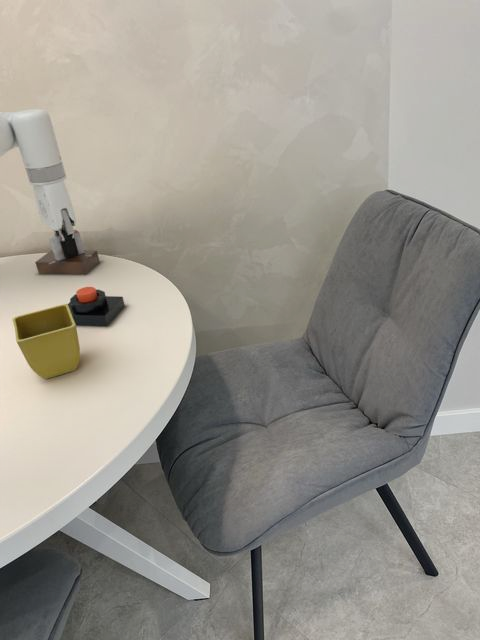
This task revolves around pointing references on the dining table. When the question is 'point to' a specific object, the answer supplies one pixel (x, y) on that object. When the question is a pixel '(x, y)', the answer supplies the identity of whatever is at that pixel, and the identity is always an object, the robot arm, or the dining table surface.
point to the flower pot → (48, 340)
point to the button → (86, 294)
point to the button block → (96, 310)
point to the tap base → (68, 263)
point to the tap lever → (58, 249)
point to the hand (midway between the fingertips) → (69, 254)
